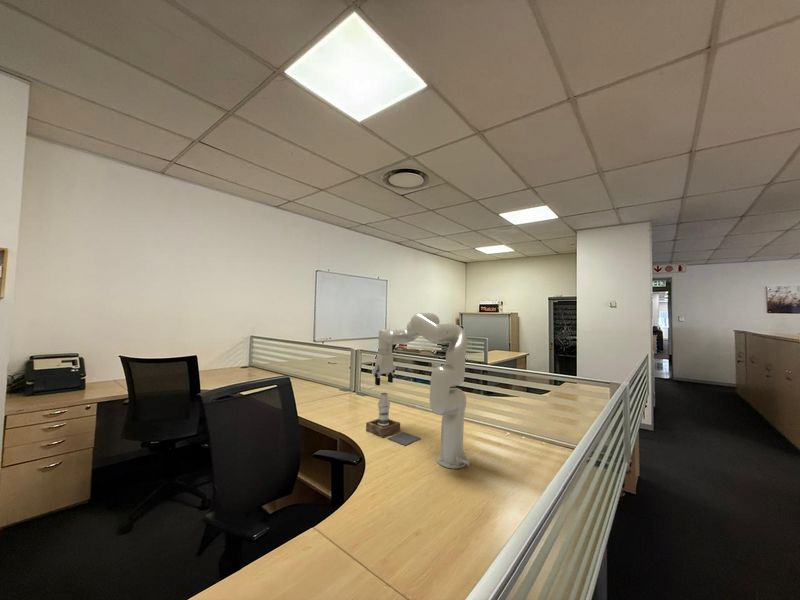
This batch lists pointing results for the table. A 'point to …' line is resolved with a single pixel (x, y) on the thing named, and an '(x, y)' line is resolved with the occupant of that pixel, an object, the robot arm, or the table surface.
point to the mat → (404, 438)
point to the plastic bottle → (383, 410)
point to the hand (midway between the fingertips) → (383, 383)
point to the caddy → (381, 431)
